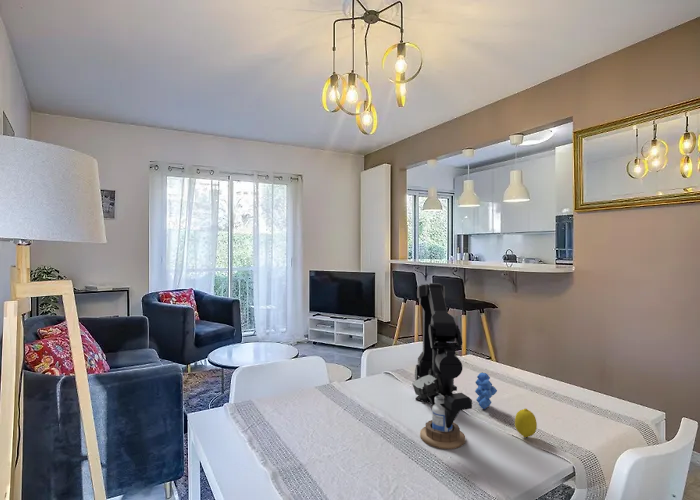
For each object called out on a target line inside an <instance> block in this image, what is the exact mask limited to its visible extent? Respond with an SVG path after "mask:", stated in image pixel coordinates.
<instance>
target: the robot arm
mask: <svg viewBox="0 0 700 500" xmlns="http://www.w3.org/2000/svg"><path fill="white" fill-rule="evenodd" d="M416 297H417V299H418V303H419V304H420V306H421V308H422V310H423V313H422V315H423V316H422V351H421V353H420V355H419V356H418V358H417V364H416V365H415V369H414V380H415V381H412V388H413V390H414V393H415V395H417V396H416V397H415V398H414V399H415V400H416V401H420V402H424V403H429V404H430V407H432V406H433V405H434V404H435V402H434V401H435V396H438V395H441V396H443V397H445V398H444V404H440V405H441V406H442V407H443V408H444V410H445V422H446V427H447V428H450V427H451V425H452V424H453V422H454V423H455V420H456V418H457V416H458V415H459V413H460V411H465V410H471V409H472V408H473V399H471V398H470V396H468V395H466V394H464V393H463V392H456V393H454V392H455V391H457V390H458V386H456V385H455V384H454V383H455V381H454V380H455V379H456V378H458V377H459V376H460V375H461V374H462V372H463V364H462V361H461V359H460V358H459V357H458V356H457V354H456V350H462V345H463V337H462V334H461V329H460V327H459V325H458V324H456V323H457V322H456V320H455V318H454V316H453V315H451V314H450V313H449V312H448V308H447V305H446V300H445V298H446V289H445V285H443V284H441V283H439V282H438V283H437V282H436V283H435V282H434V283H431V282H429V283H426V284H420V285H419V286H418V287H417V289H416Z"/></svg>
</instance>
